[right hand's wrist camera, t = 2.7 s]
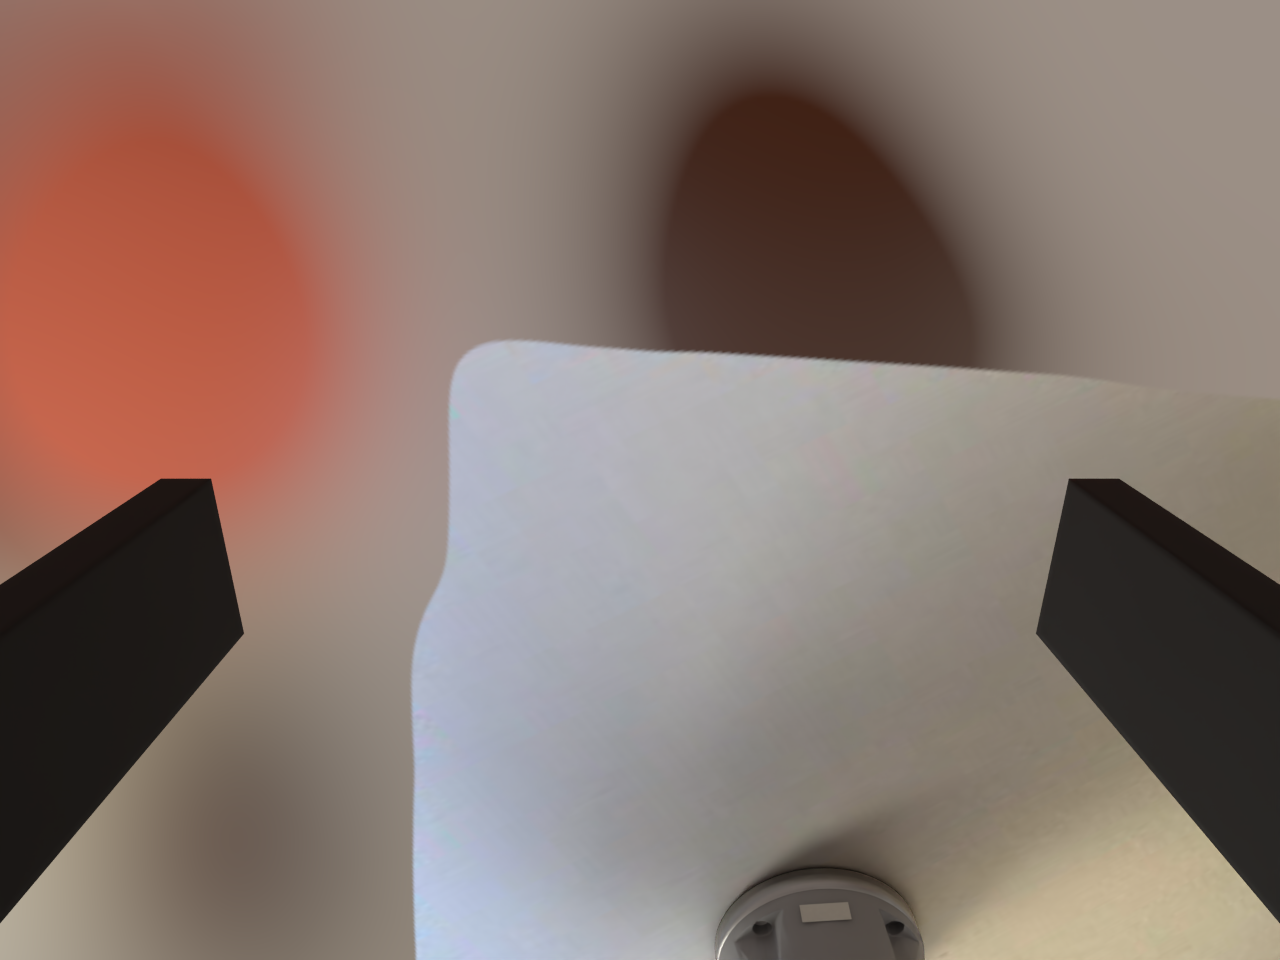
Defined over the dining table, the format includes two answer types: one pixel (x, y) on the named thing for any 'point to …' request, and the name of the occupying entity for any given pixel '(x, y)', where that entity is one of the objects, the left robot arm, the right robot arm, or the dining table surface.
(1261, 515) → the dining table surface
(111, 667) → the right robot arm
